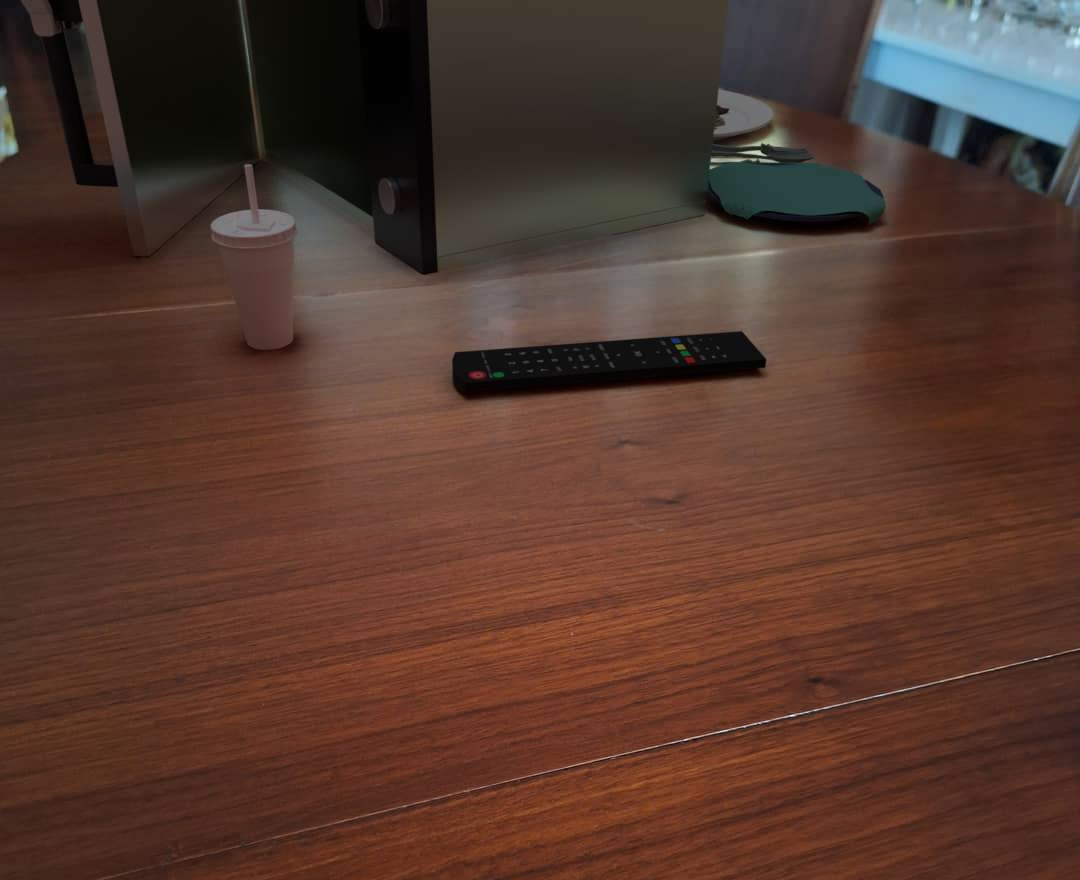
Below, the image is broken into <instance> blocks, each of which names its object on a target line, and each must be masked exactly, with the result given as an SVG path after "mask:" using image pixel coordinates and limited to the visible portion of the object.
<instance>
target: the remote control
mask: <svg viewBox="0 0 1080 880" xmlns="http://www.w3.org/2000/svg"><path fill="white" fill-rule="evenodd" d="M451 365H452V366H451V367H452V368H451V370H452V385H453V386H454V388H455V390H456V391H457V392H463V393H464V392H477V391H478V392H479V391H489V390H501V389H502V390H503V389H516V388H524V387H525V388H527V387H539V386H540V387H541V386H552V385H553V386H554V385H564V384H576V383H577V384H578V383H589V382H603V381H612V380H613V381H616V380H629V379H639V378H640V379H641V378H652V377H653V378H655V377H665V376H678V375H689V374H702V373H715V372H727V371H739V370H741V371H742V370H752V369H753V370H754V369H763V368H764V369H765V368H766V365H767V358H766V356H765V355H763V354H762V352H761V351H760V349H758V347H757V346H756V345H755V344H754V343H753V342H752V341H751V340H750V338H749V337H748V336H747V335H746V333H744V332H743V331H742V330H739V331H737V330H735V331H726V332H724V331H723V332H710V333H698V334H697V333H696V334H683V335H671V336H669V335H668V336H657V337H656V336H655V337H643V338H629V339H628V338H627V339H618V340H617V339H614V340H602V341H589V342H587V341H585V342H575V343H573V342H572V343H564V344H563V343H562V344H559V343H558V344H546V345H534V346H522V347H521V346H520V347H507V348H506V347H505V348H491V349H479V350H465V351H455V352H454V354H453V357H452V359H451Z"/></svg>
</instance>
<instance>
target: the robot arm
mask: <svg viewBox="0 0 1080 880" xmlns="http://www.w3.org/2000/svg"><path fill="white" fill-rule="evenodd" d="M20 2H21V3H22V5H23V6H24V9H26V11H27V13H28V14H29V17H30V20H31V24H32V28H33V32H34V34H35V35H37V36H39V37H41V36H54V35H56V34H58V33H60V32H61V30H62V27H61V24H60V18H59V14H58V11H53V10H52V8H51V6H50V4H49V2H48V0H20ZM62 22H63V27H64V30H73V29H74V30H75V29H76V28H80V26H82V22H65V21H62Z"/></svg>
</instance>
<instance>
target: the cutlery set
mask: <svg viewBox="0 0 1080 880" xmlns="http://www.w3.org/2000/svg"><path fill="white" fill-rule="evenodd" d="M756 151H759V152H760V153H761V154H762V155H761V154H754V153H753V154H752V153H748V152H756ZM746 152H747V153H746ZM711 158H746V159H744V160H740V161H721V162H720V161H711V163H710V166H715V167H712V168H710V172H709V181H708V190H707V198H709V199H710V200H711V201H714V202H715V203H717V204H720V205H721V206H722V208H723V209H724V210H725V212H726V213H728V214H730V215H731V216H732V215H733V216H734V215H736V216H738V217H739V218H740V217H741V218H744V219H746V220H748V219H750V218H751V217H752V216H755V217H759V218H765V219H766V218H767V219H772V220H778V221H787V222H803V223H804V222H805V223H820V222H836V221H837V222H838V221H842V220H846V219H853V218H858V217H862V216H864V215H866V216H867V218H869V223H868V224H867V226H870V225H871V224H873V223H875V222H876V221H877V220H879V219H880V218H881V217H882V216H883V214H884V213H885V210H886V205H887V204H886V200H885V197H884V195H883V192H882V190H881V189H880V188H879V187H877V186H876V185H875V184H873V183H872V182H870V180H867V179H865V178H864V177H863V176H862V175H861V174H859V173H856V172H854V171H848V170H846V169H840V168H838V167H832V166H830V165H828V166H827V165H824V164H820V162H807V161H810V160H812V159H814V158H816V156H815V155H814V154H812V153H809V150H808V149H807V148H806V147H805V148H794V147H793V148H792V147H786V146H773V145H771V144H770V143H767V144H765V143H763V142H761V144H760V145H748V146H747V145H746V146H745V145H744V146H731V145H721V144H715V143H713V145H712V154H711ZM751 159H756V160H751ZM760 159H761V160H772V161H773V162H771V161H770V162H769V161H766V162H763V161H762V162H761V161H760ZM717 165H718V166H717Z"/></svg>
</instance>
